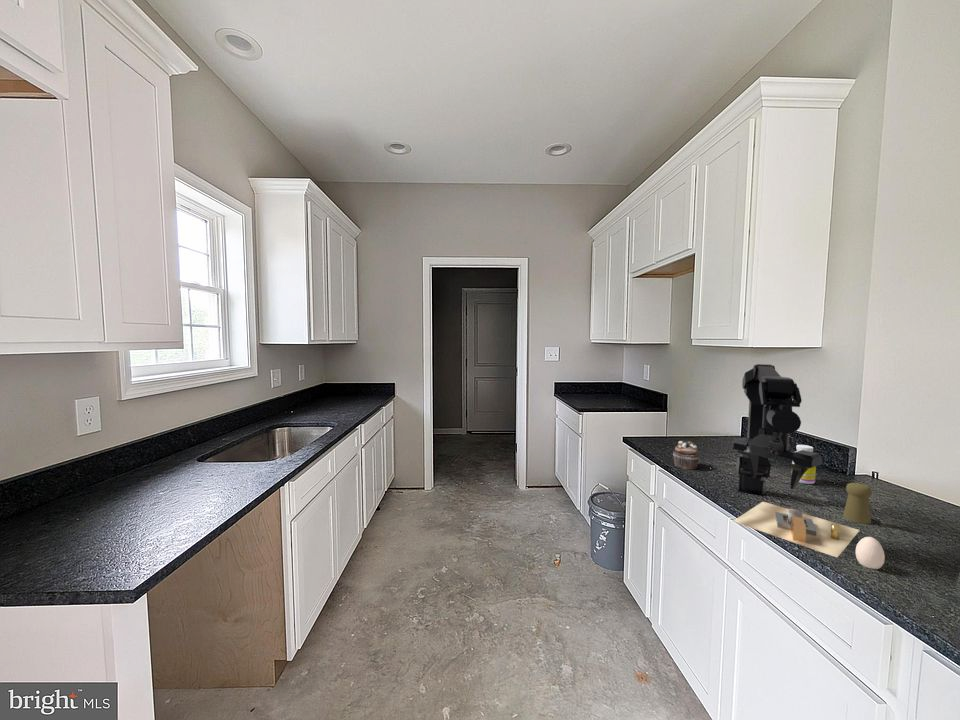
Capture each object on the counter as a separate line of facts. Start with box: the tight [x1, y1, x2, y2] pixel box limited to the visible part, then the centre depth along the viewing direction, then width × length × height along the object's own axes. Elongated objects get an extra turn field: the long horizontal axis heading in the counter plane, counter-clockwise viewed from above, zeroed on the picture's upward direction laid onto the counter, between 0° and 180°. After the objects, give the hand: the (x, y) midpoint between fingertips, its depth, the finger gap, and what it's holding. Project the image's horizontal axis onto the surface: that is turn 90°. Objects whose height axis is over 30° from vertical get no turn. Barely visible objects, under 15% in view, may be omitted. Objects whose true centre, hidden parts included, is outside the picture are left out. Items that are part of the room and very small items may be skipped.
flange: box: [775, 512, 817, 543], centre depth 104 cm, size 14×8×4 cm, turn 146°
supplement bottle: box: [791, 444, 817, 485], centre depth 142 cm, size 7×7×13 cm
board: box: [732, 501, 860, 558], centre depth 107 cm, size 22×22×5 cm
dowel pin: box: [830, 522, 840, 540], centre depth 100 cm, size 2×2×4 cm
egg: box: [855, 536, 886, 570], centre depth 88 cm, size 5×5×7 cm
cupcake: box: [672, 439, 701, 470], centre depth 158 cm, size 10×10×10 cm
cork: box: [842, 482, 873, 525], centre depth 110 cm, size 6×6×11 cm
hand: (772, 482), depth 105 cm, fingers open, 9 cm apart
